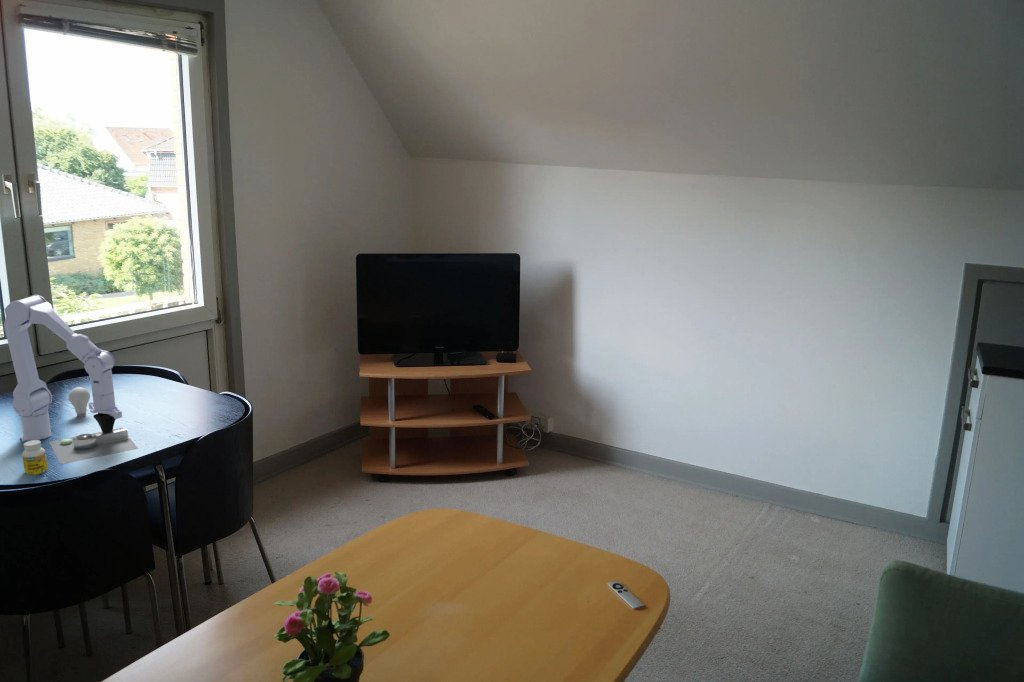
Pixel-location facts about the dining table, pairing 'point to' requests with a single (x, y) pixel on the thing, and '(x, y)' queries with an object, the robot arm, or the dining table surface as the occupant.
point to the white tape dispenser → (97, 439)
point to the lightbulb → (79, 400)
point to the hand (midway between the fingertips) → (108, 436)
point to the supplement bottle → (34, 458)
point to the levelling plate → (69, 454)
